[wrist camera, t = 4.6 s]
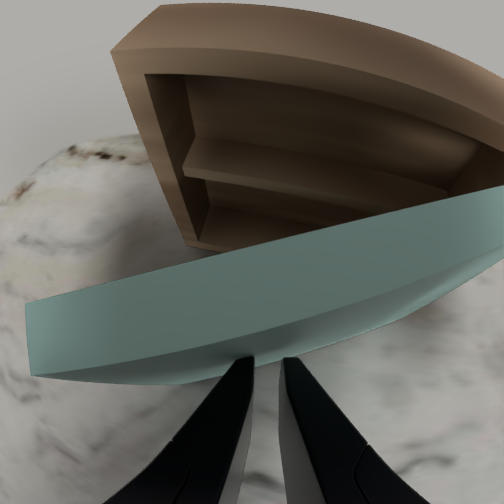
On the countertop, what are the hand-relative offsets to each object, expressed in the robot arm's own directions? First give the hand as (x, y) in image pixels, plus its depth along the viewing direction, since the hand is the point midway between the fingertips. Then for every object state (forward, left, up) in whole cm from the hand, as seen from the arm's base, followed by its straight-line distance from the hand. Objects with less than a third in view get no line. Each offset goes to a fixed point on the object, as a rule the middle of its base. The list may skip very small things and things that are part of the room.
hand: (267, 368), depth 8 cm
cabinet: (+7, +1, -7) cm, 10 cm away
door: (+2, -1, -7) cm, 7 cm away
